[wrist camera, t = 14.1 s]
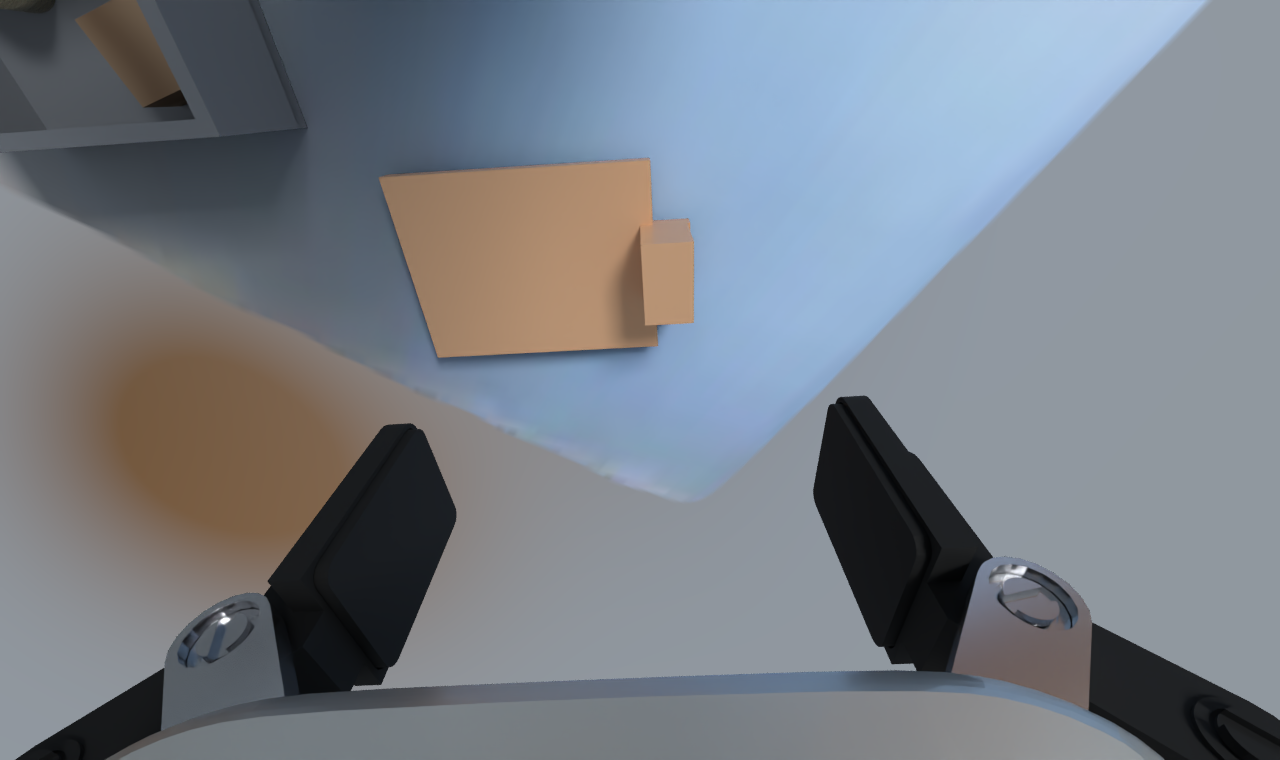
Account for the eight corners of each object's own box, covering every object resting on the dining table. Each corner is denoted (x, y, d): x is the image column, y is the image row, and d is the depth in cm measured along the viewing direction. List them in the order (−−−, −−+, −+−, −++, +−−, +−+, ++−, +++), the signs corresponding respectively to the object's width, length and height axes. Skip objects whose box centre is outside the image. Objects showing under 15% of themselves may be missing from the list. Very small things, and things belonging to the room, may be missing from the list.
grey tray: (197, -155, 22) (36, -246, 16) (307, 127, 29) (220, 136, 23) (-118, -127, 23) (-385, -204, 17) (59, 145, 29) (-90, 159, 23)
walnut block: (179, -4, 25) (135, -14, 22) (235, 80, 27) (200, 79, 24) (122, 26, 25) (74, 19, 23) (181, 106, 27) (142, 107, 25)
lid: (686, 153, 30) (698, 167, 24) (687, 330, 36) (696, 375, 31) (396, 171, 30) (338, 190, 24) (449, 342, 37) (414, 389, 31)
